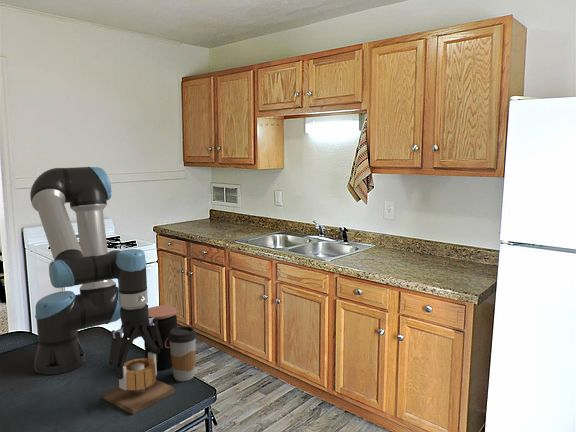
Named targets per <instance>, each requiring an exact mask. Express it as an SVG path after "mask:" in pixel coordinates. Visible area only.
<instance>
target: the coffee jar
mask: <svg viewBox="0 0 576 432" xmlns="http://www.w3.org/2000/svg"><path fill="white" fill-rule="evenodd" d="M148 311H149V316H148V319H149V318H150V317H154V318H157V319H158V329H159V332H160V336H161V339H162V343H163V348H162V349H160V353H159V354H158V362H157V363H156V366H157V371H161V369H162V370H167V369H171V368H172V361H171V350H170V341H169V334H170V331H171V330H172V329H173V328H176V327H178V316H177V308H176V307H175V306H173V305H156V306H151V307H148ZM147 331H148V332H149V334H150V337H151V338H152V334H151V331H150V327H149V325H148V327H147ZM152 340H153V338H152ZM143 341H144V340H143ZM153 342H154V341H153ZM148 352H151V351H150V349H149V348H148V346H147V345H146V343H145V341H144V358H148Z"/></svg>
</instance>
